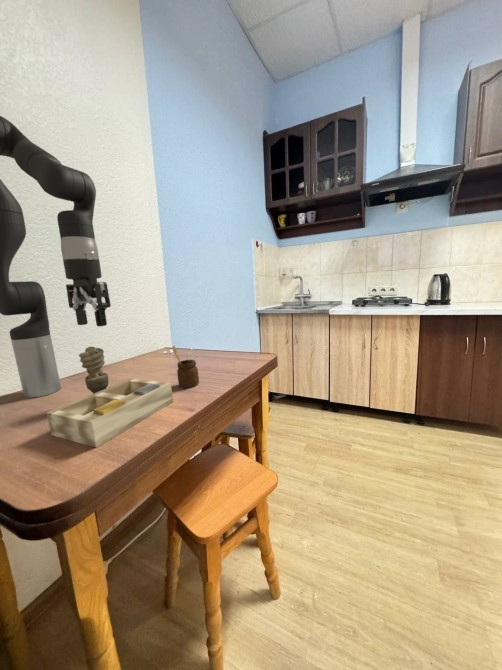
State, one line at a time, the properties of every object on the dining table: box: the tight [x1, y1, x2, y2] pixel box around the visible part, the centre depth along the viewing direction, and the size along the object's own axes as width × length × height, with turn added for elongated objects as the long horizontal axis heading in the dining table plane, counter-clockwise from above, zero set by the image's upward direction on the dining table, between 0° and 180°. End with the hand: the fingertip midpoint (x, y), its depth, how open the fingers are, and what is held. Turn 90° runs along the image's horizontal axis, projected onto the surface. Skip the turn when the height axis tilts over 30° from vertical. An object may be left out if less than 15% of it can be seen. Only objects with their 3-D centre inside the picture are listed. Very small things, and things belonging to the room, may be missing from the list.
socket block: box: [46, 378, 174, 448], centre depth 63 cm, size 14×21×6 cm, turn 155°
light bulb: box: [78, 346, 109, 394], centre depth 72 cm, size 6×6×15 cm
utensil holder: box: [172, 345, 200, 389], centre depth 81 cm, size 6×6×12 cm
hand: (92, 325), depth 70 cm, fingers open, 8 cm apart
